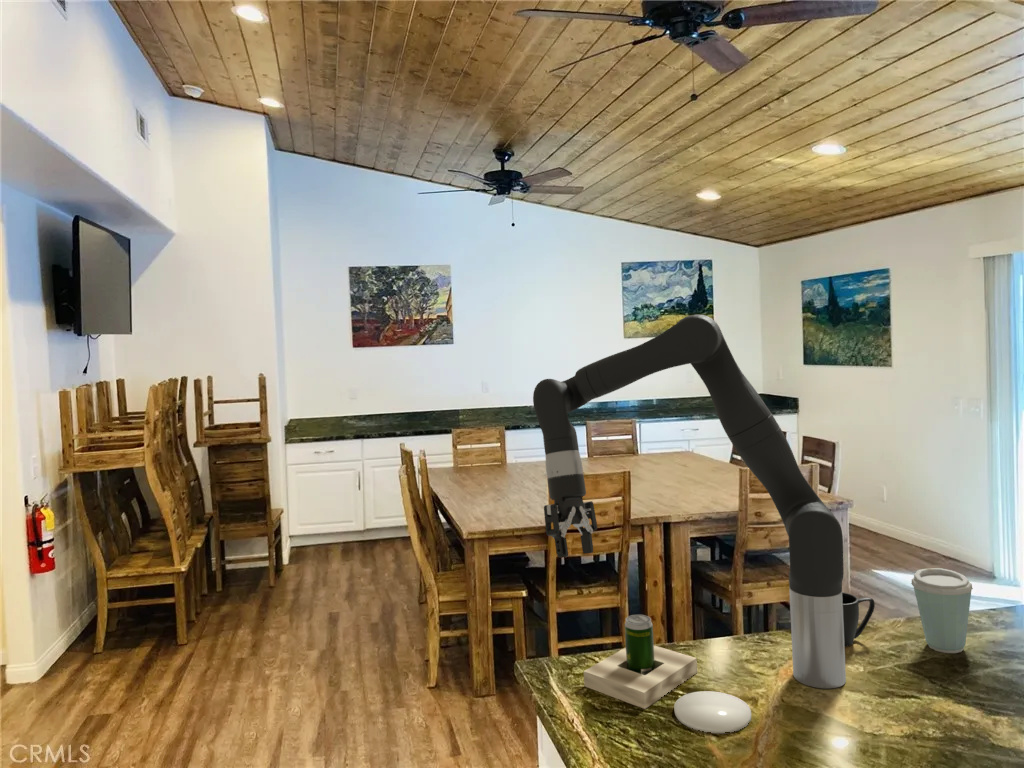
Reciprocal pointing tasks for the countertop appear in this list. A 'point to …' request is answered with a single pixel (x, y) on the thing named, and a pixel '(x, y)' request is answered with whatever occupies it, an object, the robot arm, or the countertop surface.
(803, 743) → the countertop surface
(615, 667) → the beige rectangular frame
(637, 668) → the beer can
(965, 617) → the disposable coffee cup
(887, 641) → the countertop surface
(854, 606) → the mug
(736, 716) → the white round disc
